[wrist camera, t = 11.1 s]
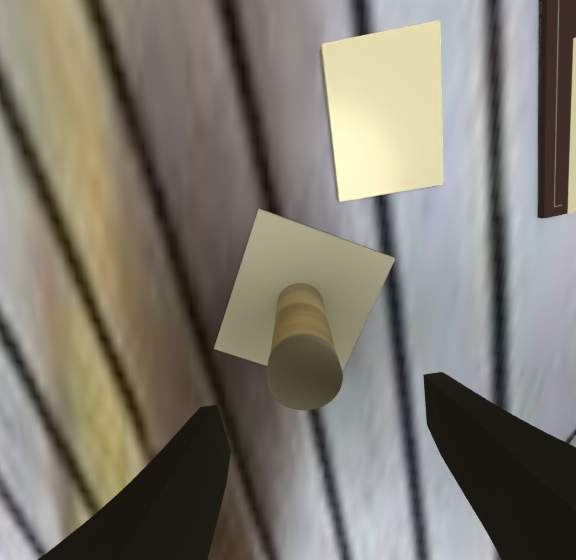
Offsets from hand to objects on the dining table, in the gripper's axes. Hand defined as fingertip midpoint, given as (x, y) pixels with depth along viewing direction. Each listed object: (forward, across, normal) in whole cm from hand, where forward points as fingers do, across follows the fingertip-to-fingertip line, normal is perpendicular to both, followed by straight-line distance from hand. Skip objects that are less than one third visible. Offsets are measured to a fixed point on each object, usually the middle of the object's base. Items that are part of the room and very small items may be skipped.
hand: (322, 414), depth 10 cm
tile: (+10, -6, -6) cm, 13 cm away
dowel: (+10, 0, 0) cm, 10 cm away
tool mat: (+10, 0, 0) cm, 10 cm away
